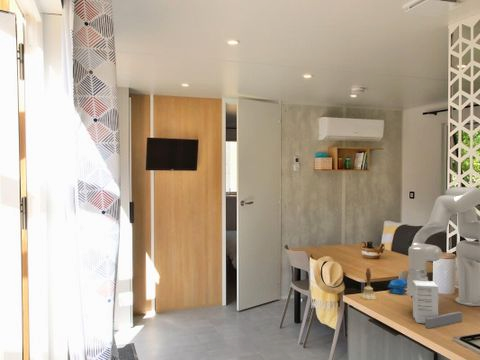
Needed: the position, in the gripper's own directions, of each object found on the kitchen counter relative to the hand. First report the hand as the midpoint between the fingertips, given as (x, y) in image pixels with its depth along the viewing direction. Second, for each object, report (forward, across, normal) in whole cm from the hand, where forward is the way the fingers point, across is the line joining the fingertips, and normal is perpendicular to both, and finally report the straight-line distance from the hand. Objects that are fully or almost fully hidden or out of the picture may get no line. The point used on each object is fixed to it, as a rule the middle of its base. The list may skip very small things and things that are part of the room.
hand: (417, 311), depth 188 cm
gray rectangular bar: (+2, -14, -1) cm, 14 cm away
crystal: (+2, +30, -16) cm, 35 cm away
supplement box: (+2, -7, +3) cm, 8 cm away
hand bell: (+2, +31, +4) cm, 31 cm away
